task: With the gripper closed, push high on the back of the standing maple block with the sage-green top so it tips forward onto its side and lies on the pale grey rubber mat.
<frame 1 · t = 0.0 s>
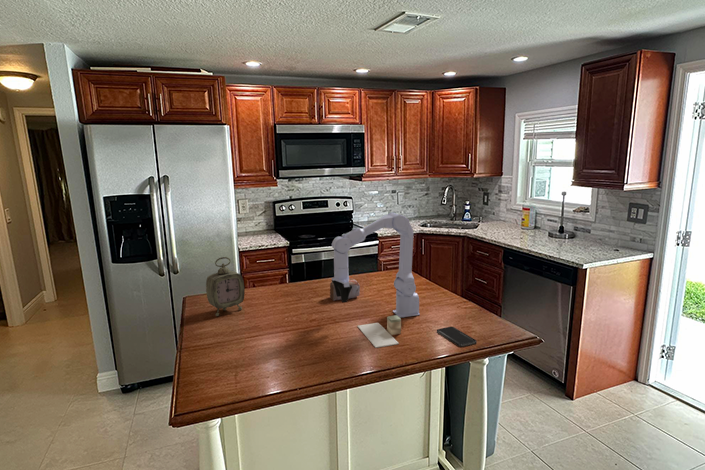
hand: (341, 299, 166), 10 cm above the table, tool pointing down, fingers open, 7 cm apart
mat: (377, 334, 156), on the table
tabletop clock: (226, 312, 183), on the table
phone: (456, 338, 153), on the table
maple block: (394, 332, 158), on the table
grey carrying case: (344, 298, 198), on the table
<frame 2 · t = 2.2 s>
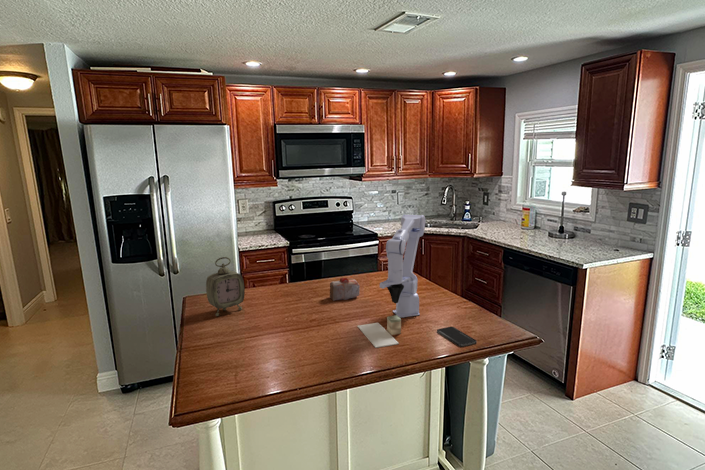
hand: (395, 302, 164), 9 cm above the table, tool pointing down, fingers closed
nothing on the table moved.
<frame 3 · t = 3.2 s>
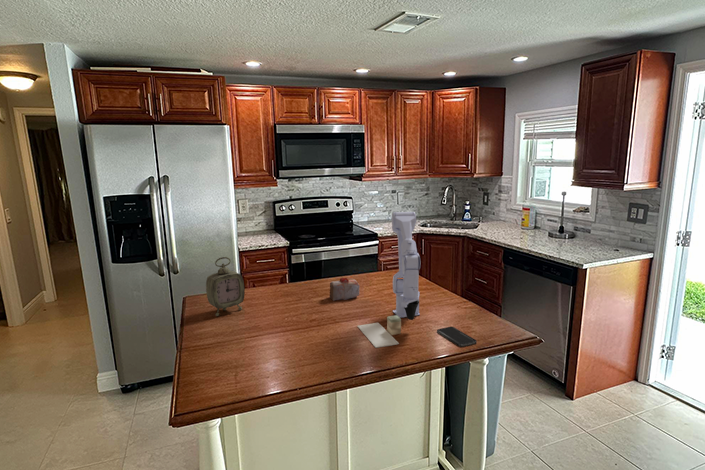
hand: (410, 319, 159), 4 cm above the table, tool pointing down, fingers closed
nothing on the table moved.
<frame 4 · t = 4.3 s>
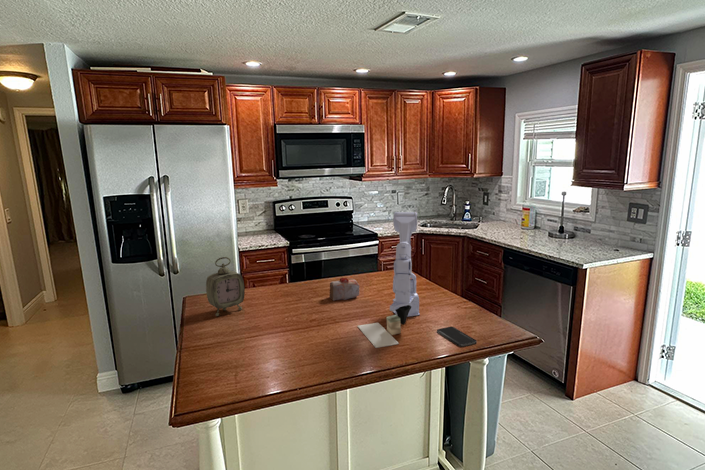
hand: (402, 323, 158), 3 cm above the table, tool pointing down, fingers closed
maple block: (394, 332, 158), on the table, touching gripper
everything else where it was.
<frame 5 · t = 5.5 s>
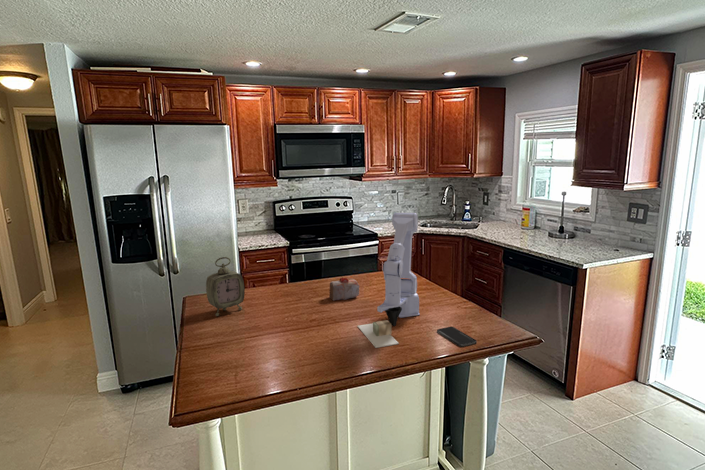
hand: (392, 325, 157), 3 cm above the table, tool pointing down, fingers closed
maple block: (389, 327, 157), point 2 cm above the table, tilted 90°, touching gripper, mat
everything else where it was.
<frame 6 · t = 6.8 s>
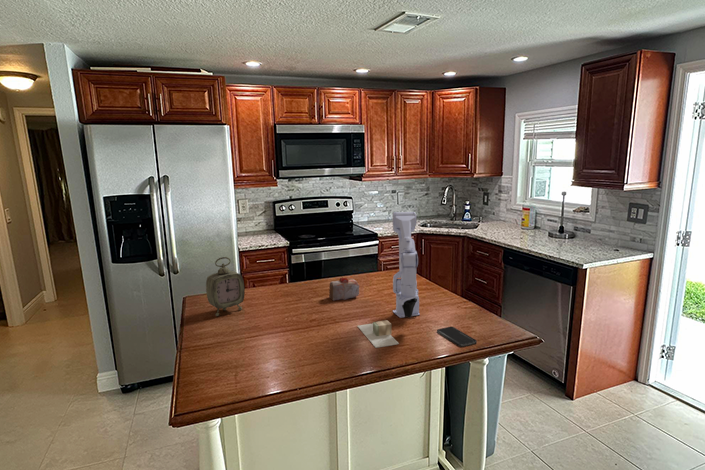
hand: (408, 316, 159), 5 cm above the table, tool pointing down, fingers closed
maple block: (389, 327, 157), point 2 cm above the table, tilted 90°, touching mat
everything else where it was.
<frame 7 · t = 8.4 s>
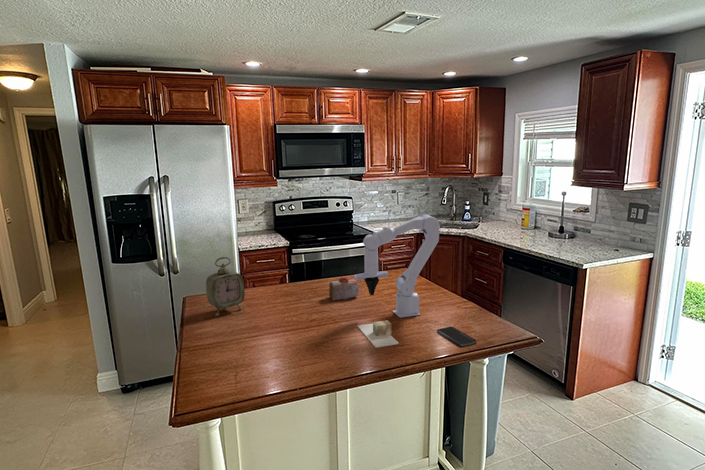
hand: (371, 294, 174), 9 cm above the table, tool pointing down, fingers closed
nothing on the table moved.
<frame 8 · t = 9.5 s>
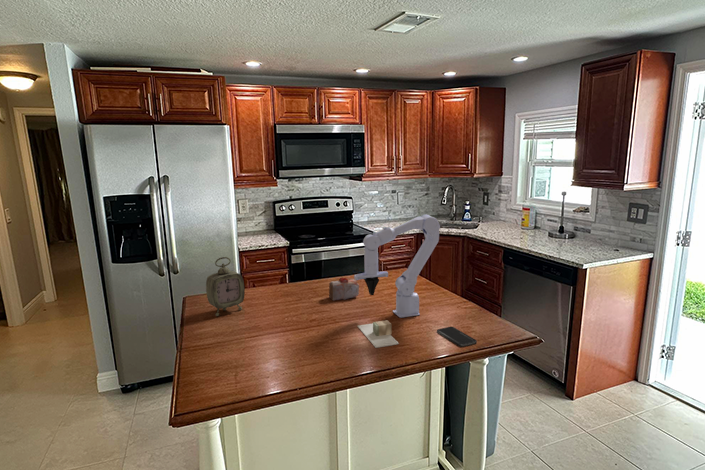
hand: (371, 294, 174), 9 cm above the table, tool pointing down, fingers closed
nothing on the table moved.
at the end: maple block tilted 90°; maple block touching mat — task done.
